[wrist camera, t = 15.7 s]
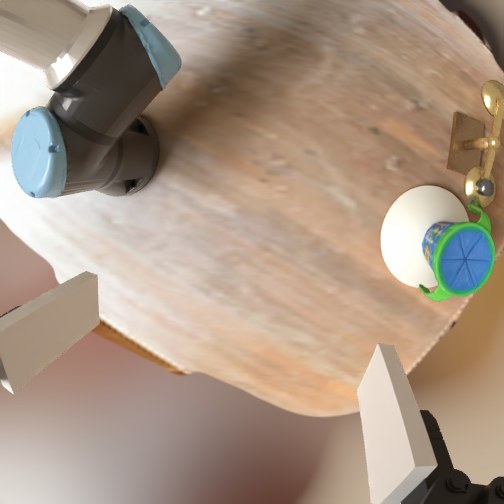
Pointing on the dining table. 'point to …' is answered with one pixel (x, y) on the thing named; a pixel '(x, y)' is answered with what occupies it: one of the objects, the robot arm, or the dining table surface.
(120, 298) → the dining table surface
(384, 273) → the dining table surface
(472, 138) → the balance
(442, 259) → the snack cup
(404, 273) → the dish
